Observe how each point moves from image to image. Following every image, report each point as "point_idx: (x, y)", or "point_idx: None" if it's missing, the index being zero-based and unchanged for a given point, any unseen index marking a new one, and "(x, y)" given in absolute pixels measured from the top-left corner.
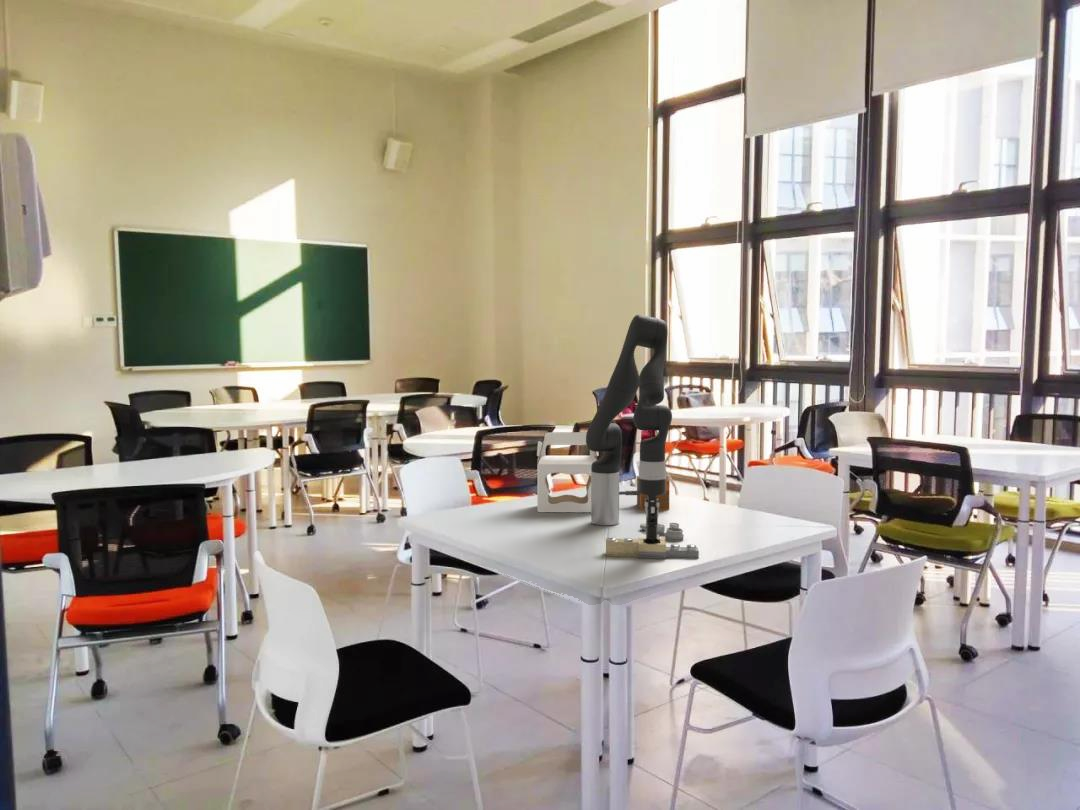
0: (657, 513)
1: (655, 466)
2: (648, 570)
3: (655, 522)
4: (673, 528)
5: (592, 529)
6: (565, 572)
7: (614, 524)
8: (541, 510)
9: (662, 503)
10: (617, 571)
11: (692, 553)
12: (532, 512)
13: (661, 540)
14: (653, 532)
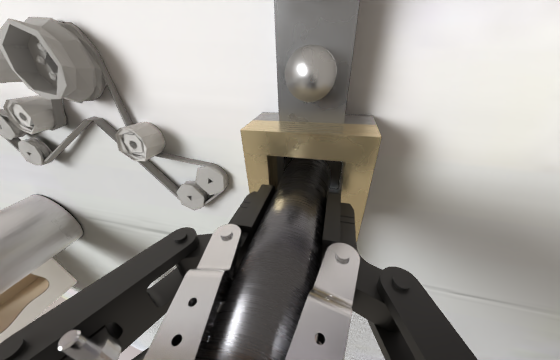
0: (344, 350)
1: None
2: (552, 201)
3: (427, 306)
4: (18, 67)
5: (116, 243)
6: (471, 350)
7: (59, 205)
8: (70, 281)
9: None
10: (514, 279)
11: None
12: (80, 285)
13: (286, 149)
14: (354, 230)
